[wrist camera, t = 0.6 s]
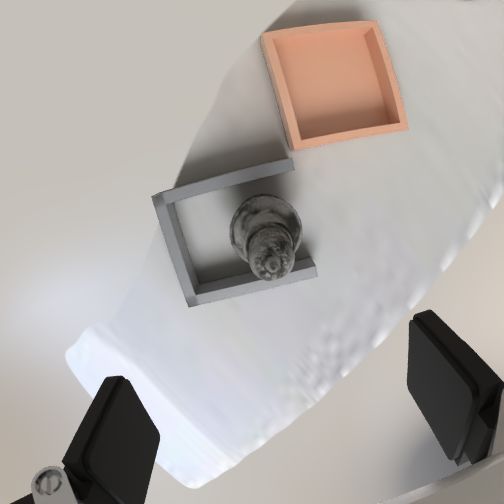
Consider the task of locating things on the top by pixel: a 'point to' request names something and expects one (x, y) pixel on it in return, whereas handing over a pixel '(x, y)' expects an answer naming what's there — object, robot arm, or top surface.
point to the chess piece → (266, 236)
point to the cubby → (179, 251)
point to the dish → (333, 82)
